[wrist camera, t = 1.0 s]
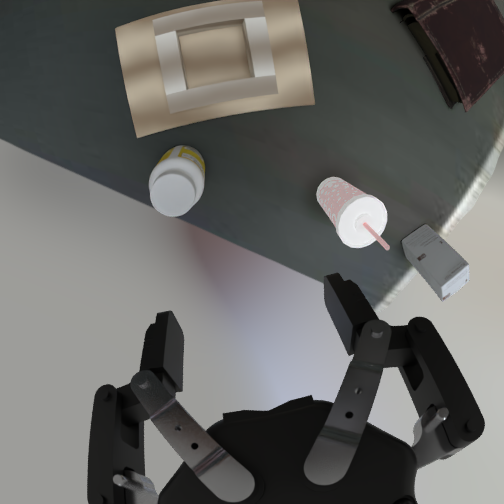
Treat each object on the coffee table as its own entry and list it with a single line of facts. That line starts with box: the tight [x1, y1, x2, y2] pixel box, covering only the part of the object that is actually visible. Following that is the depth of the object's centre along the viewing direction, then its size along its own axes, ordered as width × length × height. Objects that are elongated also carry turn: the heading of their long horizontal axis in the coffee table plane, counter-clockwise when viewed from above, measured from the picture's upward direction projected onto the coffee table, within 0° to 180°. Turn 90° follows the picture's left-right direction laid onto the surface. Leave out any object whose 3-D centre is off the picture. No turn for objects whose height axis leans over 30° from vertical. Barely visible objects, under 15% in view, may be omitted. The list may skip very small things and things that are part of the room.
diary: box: [391, 0, 504, 112], centre depth 20 cm, size 19×25×5 cm
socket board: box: [115, 0, 315, 138], centre depth 22 cm, size 14×20×4 cm
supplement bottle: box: [149, 145, 205, 217], centre depth 27 cm, size 5×5×10 cm
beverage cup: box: [316, 177, 390, 250], centre depth 29 cm, size 6×6×14 cm
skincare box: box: [401, 224, 469, 301], centre depth 36 cm, size 6×4×12 cm
